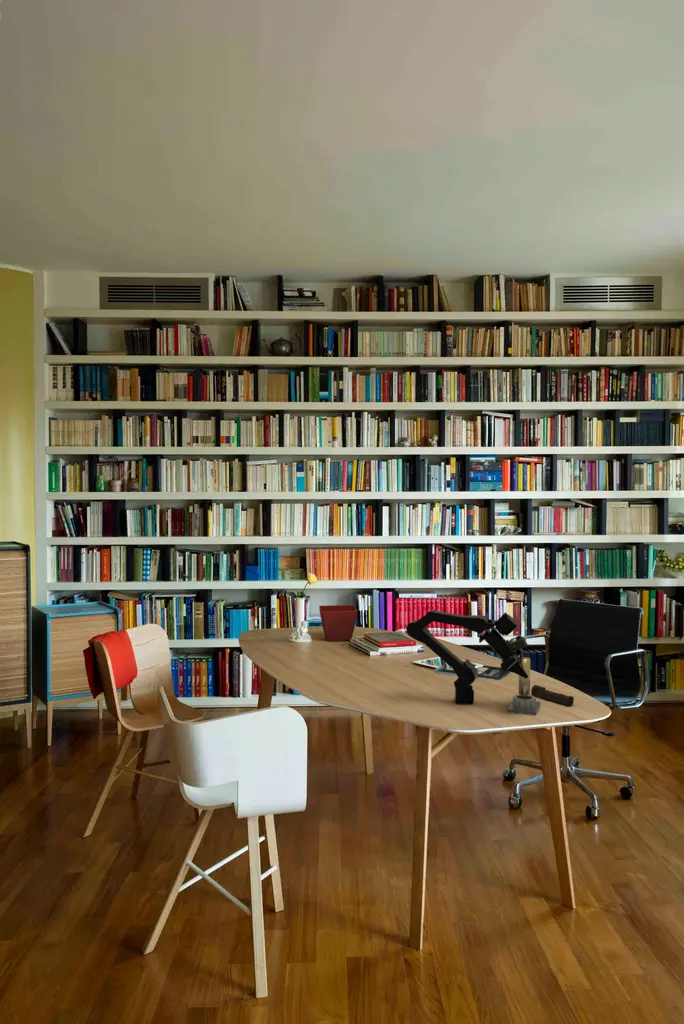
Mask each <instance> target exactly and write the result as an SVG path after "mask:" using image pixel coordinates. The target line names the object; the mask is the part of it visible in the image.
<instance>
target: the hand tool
mask: <svg viewBox="0 0 684 1024" xmlns="http://www.w3.org/2000/svg"><path fill="white" fill-rule="evenodd" d="M530 695H531V696H535V697H536V698H537V697H538V699H539V700H543V698H544V700H545V699H546V700H548V701H552V702H555V703H559V704H562V705H564V706H565V705H566V707H567V708H569V707H572V706H573V705H574V701H575V698H574V696H572V695H565V694H563V693H557V692H555V691H551V690H548V689H546V687H544V686H541V685H538V684H534V685H533V686H531V688H530Z"/></svg>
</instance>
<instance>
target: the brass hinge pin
mask: <svg viewBox="0 0 684 1024" xmlns="http://www.w3.org/2000/svg"><path fill="white" fill-rule="evenodd" d="M520 665H521V666H522V668H523V669H524V670H525V672H526V673H527V675H528V678H527V679H526V678H524V677H522V676H520V675H518V694H520V695H531V658H530V657H525V656H523V657H520Z"/></svg>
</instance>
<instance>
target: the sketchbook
mask: <svg viewBox="0 0 684 1024" xmlns="http://www.w3.org/2000/svg"><path fill="white" fill-rule="evenodd" d="M442 665H443V666H444V664H442ZM442 665H440V666H438V667H437V668H435V669H433V673H435V674H440V673H441V675H448V674H449V675H448V676H456V674H455V672H454V670H453V669H448V668H442V667H443V666H442ZM482 665H483V664H482ZM476 669H477V670H478V677H477V678H476V679H479V678H486V679H485V680H487V679H493V680H492V681H495V680H501V679H502V678H503V677H505V676H506V675H508V674H509V673H510V674H512V673H511V671H508V670H505V671H503V670H502V668H501V666H500V667H499V666H492V665H483V667H481V668H476ZM510 674H509V675H510ZM509 675H508V676H509ZM506 677H507V676H506ZM506 677H505V678H506ZM503 679H504V678H503ZM503 679H502V680H503ZM502 680H501V681H502Z"/></svg>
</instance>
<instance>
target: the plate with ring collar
mask: <svg viewBox="0 0 684 1024" xmlns="http://www.w3.org/2000/svg"><path fill="white" fill-rule="evenodd" d="M540 707H541V701H537V697H534V696H533V695H531V694H530V695H520V694H519V693H517V694H515V695H514V694H513V696H512V701H511V702H510V704H509V706H508V707H507V709H506V712H507V713H509V712H516V713H515V714H519V713H524V714H523V715H528V714H532V715H531V716H537V715H538V712H539V709H540Z"/></svg>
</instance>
